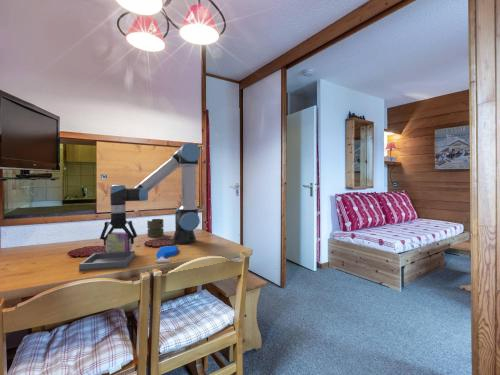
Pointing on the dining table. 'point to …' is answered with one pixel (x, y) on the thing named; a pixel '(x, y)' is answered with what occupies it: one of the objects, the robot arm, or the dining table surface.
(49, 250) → the dining table surface
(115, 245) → the box
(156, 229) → the dark green block
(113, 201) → the robot arm
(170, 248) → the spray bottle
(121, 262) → the tray
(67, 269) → the dining table surface
